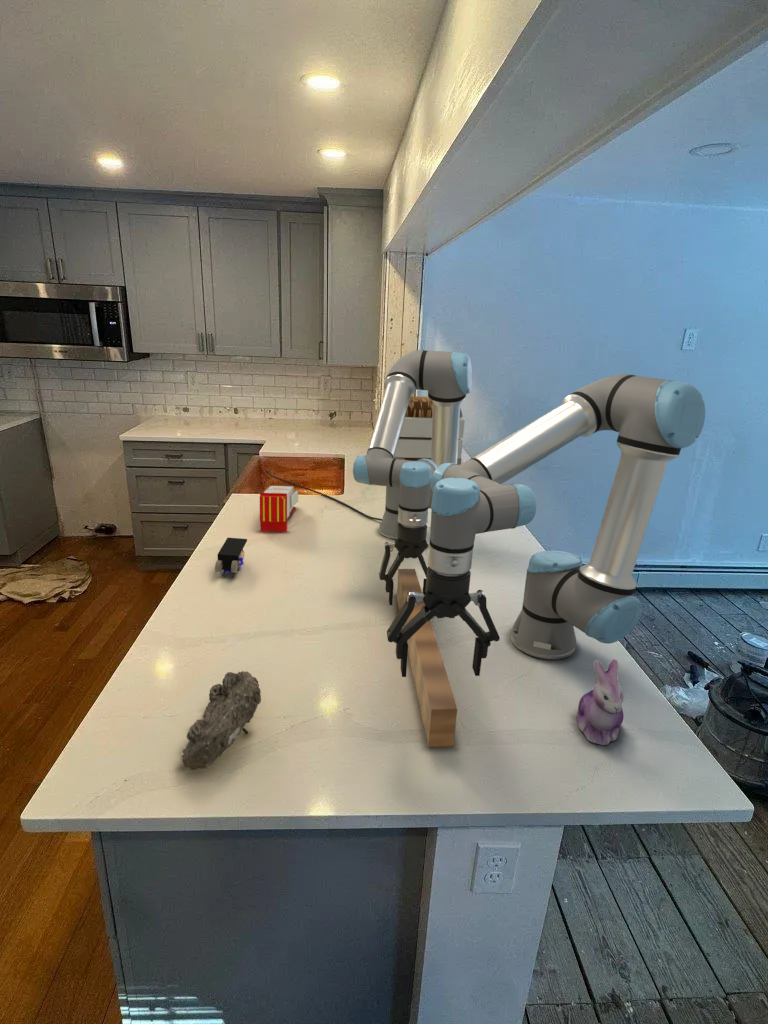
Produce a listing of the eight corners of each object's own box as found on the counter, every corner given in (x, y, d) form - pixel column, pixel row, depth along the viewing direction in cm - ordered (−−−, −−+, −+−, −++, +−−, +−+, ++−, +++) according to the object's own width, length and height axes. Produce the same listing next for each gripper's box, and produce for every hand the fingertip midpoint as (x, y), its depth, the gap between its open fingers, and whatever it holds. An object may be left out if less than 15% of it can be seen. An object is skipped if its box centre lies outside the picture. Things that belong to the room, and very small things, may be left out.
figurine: (602, 755, 103) (617, 685, 98) (562, 719, 111) (574, 654, 106) (638, 739, 107) (654, 672, 102) (596, 706, 116) (609, 643, 110)
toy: (300, 481, 221) (289, 494, 192) (300, 514, 224) (289, 533, 194) (268, 480, 221) (253, 493, 191) (269, 514, 223) (254, 532, 194)
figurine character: (238, 584, 162) (249, 557, 175) (236, 562, 158) (247, 536, 172) (215, 584, 161) (227, 556, 175) (212, 561, 158) (225, 535, 171)
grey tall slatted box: (382, 463, 289) (386, 382, 275) (445, 464, 293) (451, 384, 279) (390, 482, 257) (394, 392, 243) (460, 483, 261) (468, 394, 247)
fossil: (206, 672, 114) (260, 639, 109) (238, 703, 117) (292, 672, 112) (156, 763, 94) (219, 728, 89) (197, 797, 97) (260, 766, 92)
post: (396, 596, 157) (398, 568, 154) (413, 596, 157) (415, 568, 154) (428, 747, 103) (431, 709, 100) (453, 746, 104) (457, 708, 101)
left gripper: (371, 528, 139) (368, 610, 146) (456, 529, 141) (449, 609, 148) (369, 517, 146) (367, 596, 153) (450, 518, 148) (443, 596, 155)
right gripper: (378, 577, 93) (373, 685, 100) (526, 577, 95) (511, 683, 102) (375, 558, 100) (371, 660, 107) (513, 559, 102) (500, 659, 109)
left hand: (407, 602), depth 151 cm, fingers open, 8 cm apart
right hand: (439, 672), depth 105 cm, fingers open, 13 cm apart
